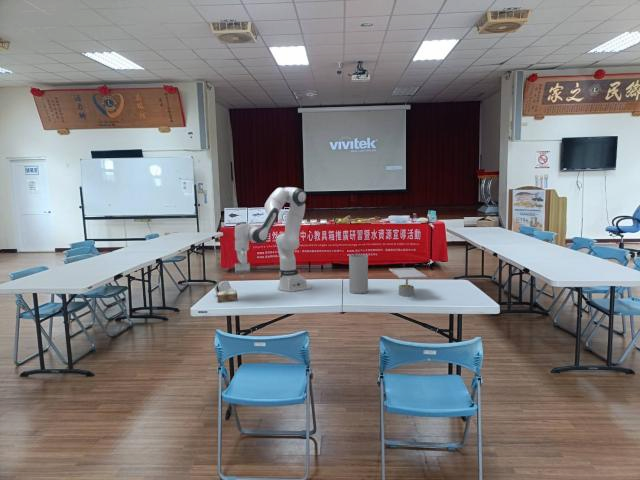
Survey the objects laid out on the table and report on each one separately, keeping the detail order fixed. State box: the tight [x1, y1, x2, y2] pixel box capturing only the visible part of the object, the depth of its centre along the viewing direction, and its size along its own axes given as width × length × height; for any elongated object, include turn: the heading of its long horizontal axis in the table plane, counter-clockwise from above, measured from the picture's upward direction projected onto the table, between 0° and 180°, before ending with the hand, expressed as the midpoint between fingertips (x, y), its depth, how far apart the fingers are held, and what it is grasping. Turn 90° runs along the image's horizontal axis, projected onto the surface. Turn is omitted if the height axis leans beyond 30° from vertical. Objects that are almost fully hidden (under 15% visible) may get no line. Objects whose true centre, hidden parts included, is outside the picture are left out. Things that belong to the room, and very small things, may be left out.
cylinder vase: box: [348, 253, 369, 295], centre depth 293 cm, size 12×12×25 cm
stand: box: [216, 290, 239, 303], centre depth 279 cm, size 12×8×5 cm, turn 107°
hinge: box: [214, 280, 234, 295], centre depth 294 cm, size 17×5×10 cm, turn 168°
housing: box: [234, 262, 251, 275], centre depth 280 cm, size 9×5×6 cm, turn 108°
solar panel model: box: [388, 267, 428, 298], centre depth 285 cm, size 28×17×15 cm, turn 5°
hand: (242, 268), depth 280 cm, fingers closed on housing, 5 cm apart
